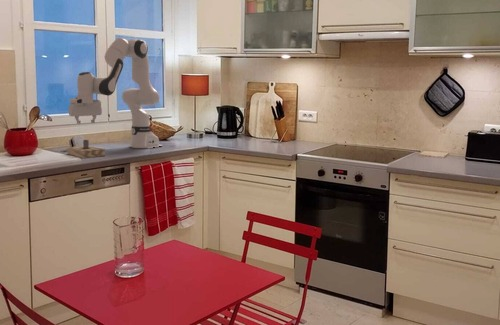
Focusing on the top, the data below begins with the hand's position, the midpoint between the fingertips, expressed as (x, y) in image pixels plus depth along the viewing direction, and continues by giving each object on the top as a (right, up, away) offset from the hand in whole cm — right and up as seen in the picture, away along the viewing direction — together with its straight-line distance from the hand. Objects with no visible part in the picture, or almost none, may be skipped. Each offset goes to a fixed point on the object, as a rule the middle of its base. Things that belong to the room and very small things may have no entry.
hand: (85, 123), depth 330 cm
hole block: (-1, -19, +3) cm, 19 cm away
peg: (-1, -19, +3) cm, 19 cm away
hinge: (-11, -15, +25) cm, 31 cm away
